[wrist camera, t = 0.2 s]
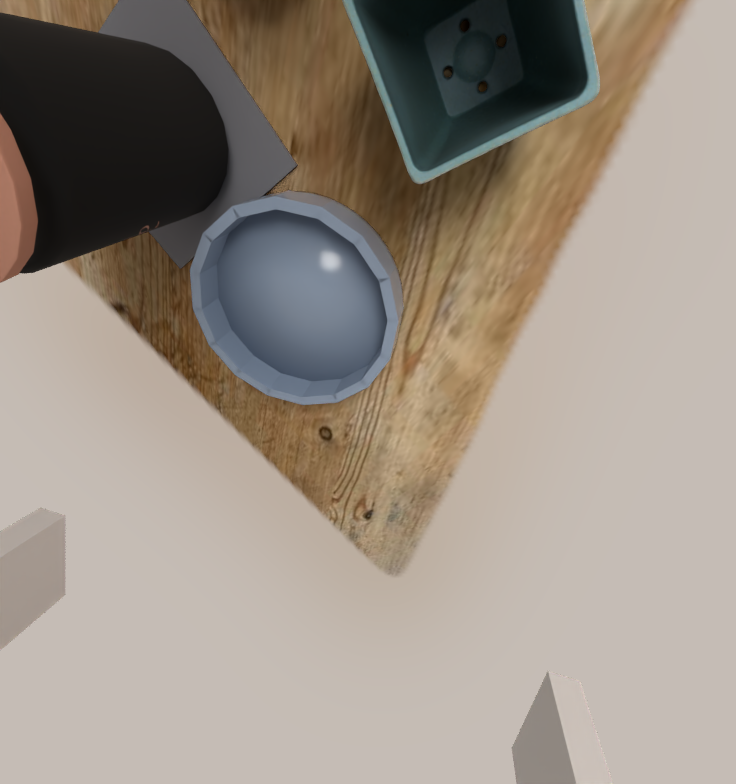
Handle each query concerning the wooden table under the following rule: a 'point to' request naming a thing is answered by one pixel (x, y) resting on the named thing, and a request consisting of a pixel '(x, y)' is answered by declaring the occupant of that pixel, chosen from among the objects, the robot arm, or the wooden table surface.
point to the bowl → (297, 296)
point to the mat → (236, 106)
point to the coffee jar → (97, 142)
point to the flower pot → (473, 72)
